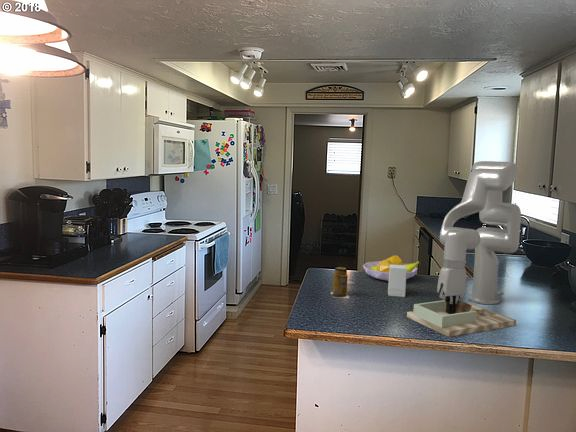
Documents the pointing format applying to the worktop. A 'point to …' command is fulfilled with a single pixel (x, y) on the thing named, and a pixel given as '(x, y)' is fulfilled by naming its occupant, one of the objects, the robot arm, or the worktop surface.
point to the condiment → (340, 283)
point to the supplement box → (397, 280)
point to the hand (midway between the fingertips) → (450, 313)
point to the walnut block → (462, 307)
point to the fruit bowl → (382, 268)
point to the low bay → (430, 315)
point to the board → (481, 323)
